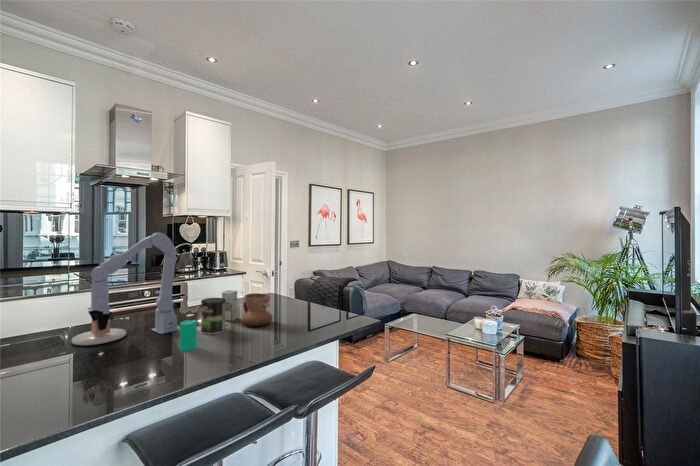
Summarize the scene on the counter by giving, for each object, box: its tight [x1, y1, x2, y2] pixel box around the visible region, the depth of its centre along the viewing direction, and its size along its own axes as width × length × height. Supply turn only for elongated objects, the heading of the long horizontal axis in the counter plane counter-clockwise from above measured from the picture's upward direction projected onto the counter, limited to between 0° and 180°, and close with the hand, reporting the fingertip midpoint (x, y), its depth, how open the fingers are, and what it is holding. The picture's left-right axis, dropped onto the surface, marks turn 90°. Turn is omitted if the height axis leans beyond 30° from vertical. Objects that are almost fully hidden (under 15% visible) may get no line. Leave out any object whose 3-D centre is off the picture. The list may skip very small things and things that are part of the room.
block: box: [90, 319, 111, 336], centre depth 138 cm, size 5×5×5 cm
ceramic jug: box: [241, 292, 273, 327], centre depth 162 cm, size 18×14×14 cm
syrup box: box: [221, 289, 238, 322], centre depth 168 cm, size 6×6×14 cm
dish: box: [71, 328, 127, 346], centre depth 138 cm, size 18×18×2 cm
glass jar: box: [200, 297, 226, 335], centre depth 150 cm, size 10×10×14 cm
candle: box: [179, 317, 198, 352], centre depth 129 cm, size 6×6×12 cm
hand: (100, 328), depth 138 cm, fingers closed on block, 5 cm apart
